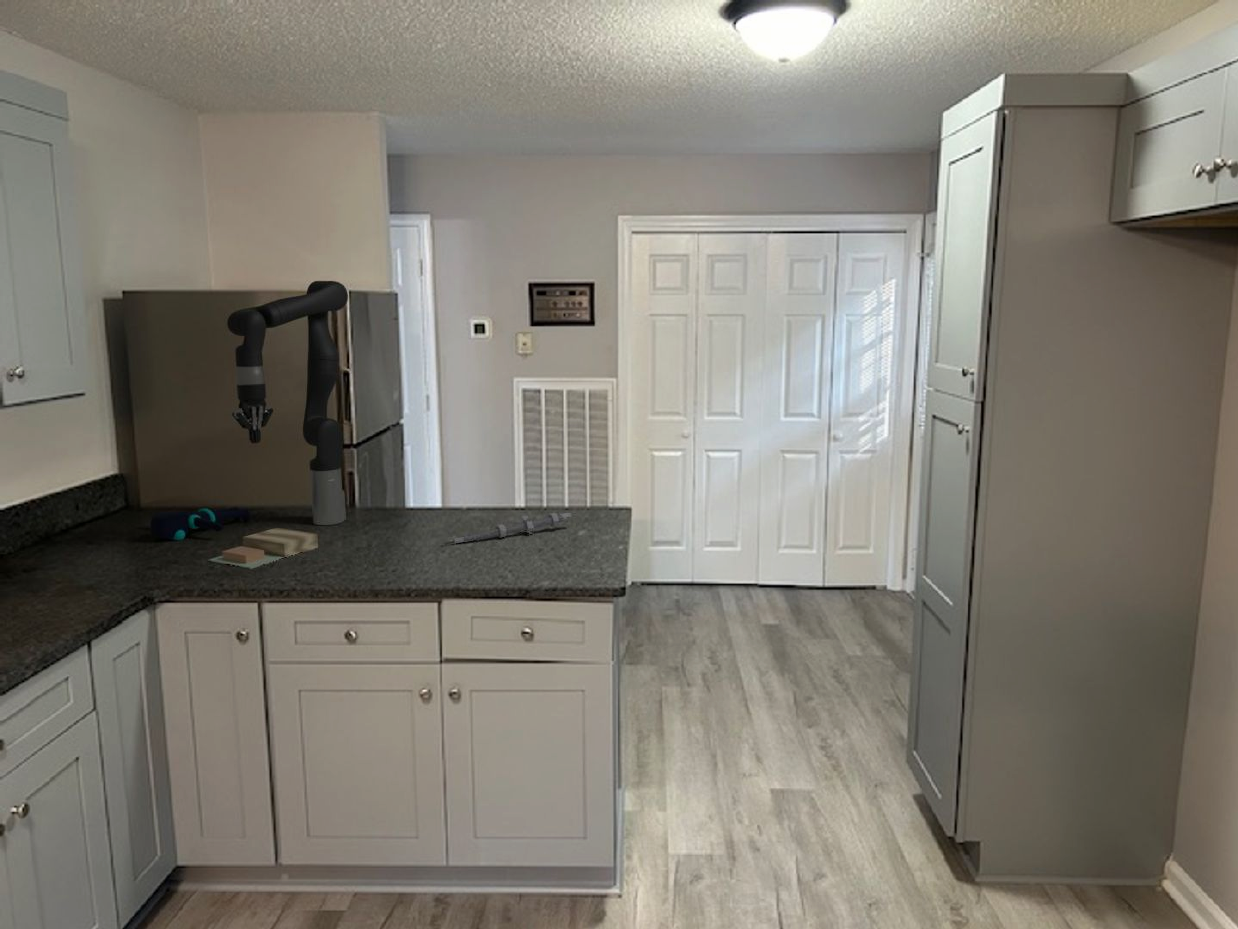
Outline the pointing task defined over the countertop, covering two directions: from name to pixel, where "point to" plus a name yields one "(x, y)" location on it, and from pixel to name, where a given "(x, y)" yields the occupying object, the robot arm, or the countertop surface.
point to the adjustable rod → (515, 527)
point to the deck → (282, 542)
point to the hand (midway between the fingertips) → (255, 442)
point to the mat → (250, 565)
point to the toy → (192, 521)
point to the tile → (243, 554)
